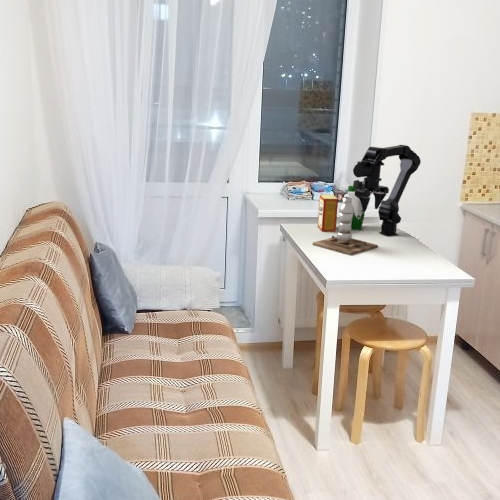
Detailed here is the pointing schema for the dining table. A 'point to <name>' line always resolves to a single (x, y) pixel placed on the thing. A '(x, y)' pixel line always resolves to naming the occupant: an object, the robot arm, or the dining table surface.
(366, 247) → the walnut bottle stand
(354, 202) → the milk carton
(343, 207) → the plastic bottle
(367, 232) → the dining table surface
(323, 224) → the baking soda box
